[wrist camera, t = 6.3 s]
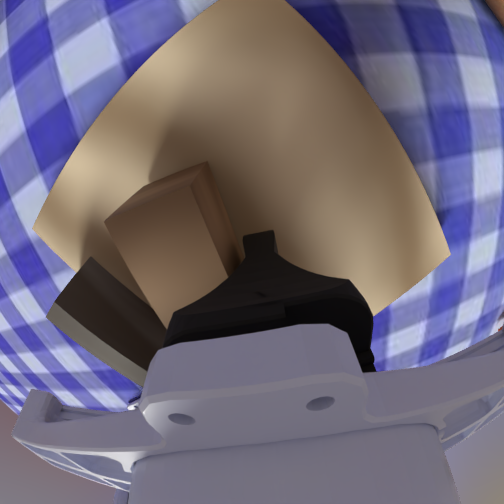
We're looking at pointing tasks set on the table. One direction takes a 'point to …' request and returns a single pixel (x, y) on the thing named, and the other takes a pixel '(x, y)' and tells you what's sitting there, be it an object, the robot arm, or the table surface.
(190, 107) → the board
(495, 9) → the ceramic jug
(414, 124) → the table surface
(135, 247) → the folding leg
